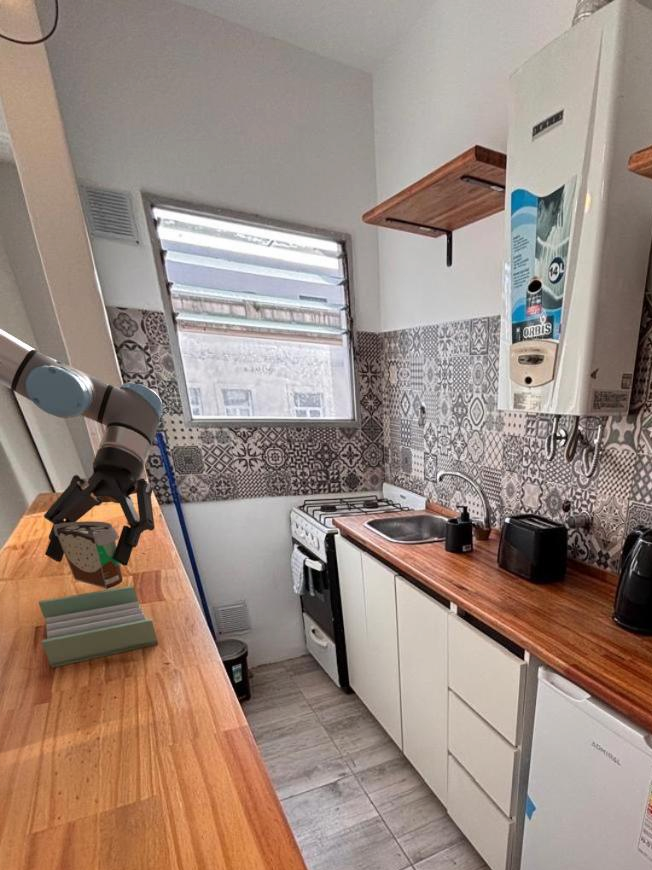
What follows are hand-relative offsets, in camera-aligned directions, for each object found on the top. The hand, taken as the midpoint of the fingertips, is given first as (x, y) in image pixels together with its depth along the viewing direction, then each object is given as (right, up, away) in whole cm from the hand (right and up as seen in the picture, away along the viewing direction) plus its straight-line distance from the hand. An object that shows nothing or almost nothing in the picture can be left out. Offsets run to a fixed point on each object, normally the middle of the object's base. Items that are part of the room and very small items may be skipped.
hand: (86, 560), depth 91 cm
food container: (+1, -3, +4) cm, 5 cm away
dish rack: (+10, -13, -10) cm, 19 cm away
